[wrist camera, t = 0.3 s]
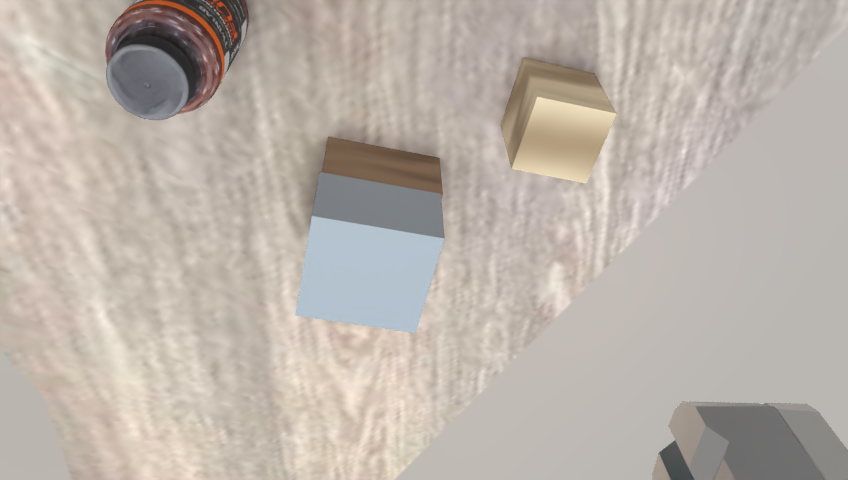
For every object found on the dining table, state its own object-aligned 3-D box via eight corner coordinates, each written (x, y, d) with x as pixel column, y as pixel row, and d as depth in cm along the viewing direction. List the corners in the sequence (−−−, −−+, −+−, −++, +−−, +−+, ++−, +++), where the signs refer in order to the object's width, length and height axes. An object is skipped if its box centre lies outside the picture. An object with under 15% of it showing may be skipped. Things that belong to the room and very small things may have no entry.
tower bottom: (328, 135, 49) (322, 172, 45) (439, 157, 50) (442, 194, 46) (312, 226, 53) (305, 267, 49) (414, 244, 55) (415, 285, 51)
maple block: (523, 57, 46) (537, 96, 41) (594, 73, 46) (616, 113, 42) (500, 124, 49) (511, 168, 44) (567, 138, 49) (586, 183, 45)
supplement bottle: (269, 7, 43) (234, 81, 34) (216, 74, 46) (171, 161, 37) (184, -62, 41) (122, -1, 32) (133, 14, 43) (62, 90, 34)
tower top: (319, 171, 45) (311, 215, 41) (440, 193, 46) (444, 238, 42) (304, 267, 49) (295, 315, 45) (414, 284, 51) (415, 333, 47)
